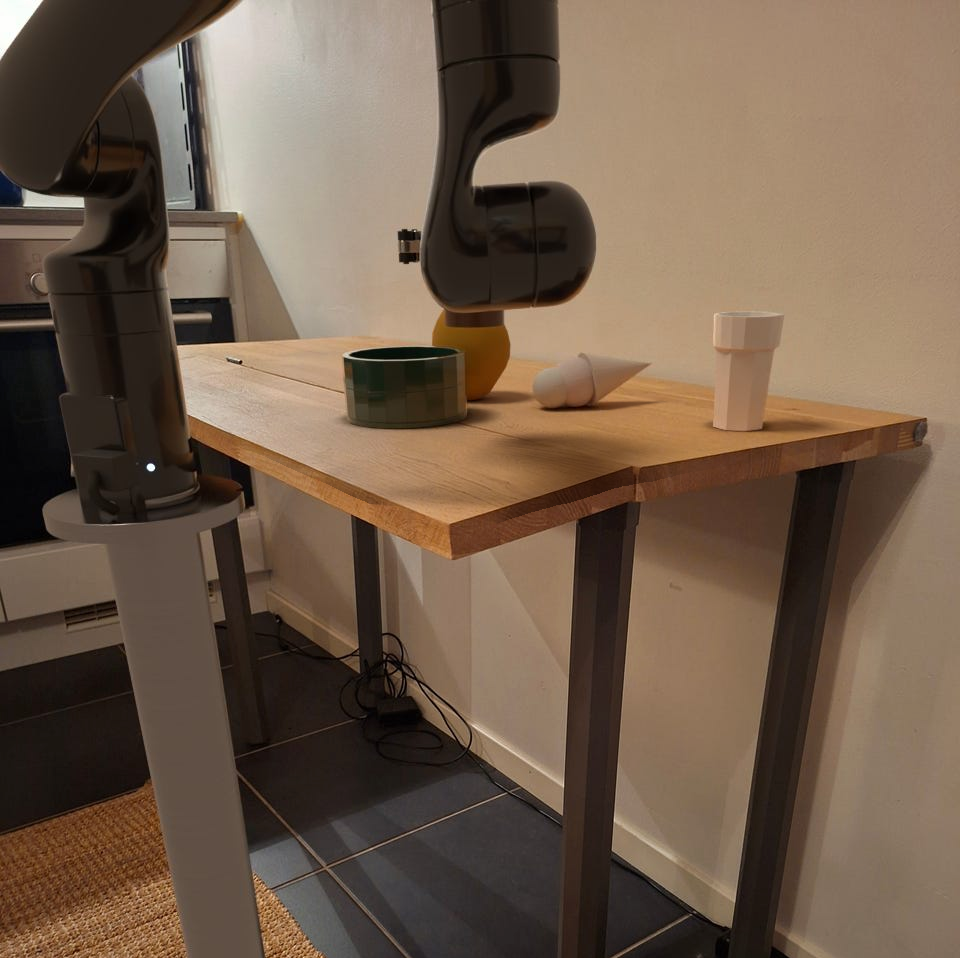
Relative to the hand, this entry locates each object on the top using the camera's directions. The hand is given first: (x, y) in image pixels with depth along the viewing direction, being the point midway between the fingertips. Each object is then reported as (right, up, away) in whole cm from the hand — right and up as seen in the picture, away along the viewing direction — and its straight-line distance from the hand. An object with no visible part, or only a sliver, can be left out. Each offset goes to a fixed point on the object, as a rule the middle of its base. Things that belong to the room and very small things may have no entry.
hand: (471, 244), depth 85 cm
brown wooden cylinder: (0, -7, +1) cm, 7 cm away
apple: (0, -7, +29) cm, 30 cm away
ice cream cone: (+14, -10, +22) cm, 28 cm away
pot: (-7, -12, +18) cm, 23 cm away
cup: (+28, -15, +9) cm, 33 cm away
